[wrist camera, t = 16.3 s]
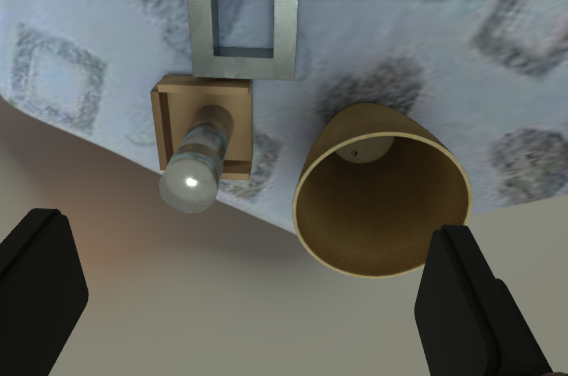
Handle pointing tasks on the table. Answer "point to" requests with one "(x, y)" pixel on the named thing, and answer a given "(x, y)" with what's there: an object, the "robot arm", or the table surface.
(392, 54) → the table surface
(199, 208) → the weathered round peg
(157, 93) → the tray
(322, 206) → the plant pot
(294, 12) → the socket
